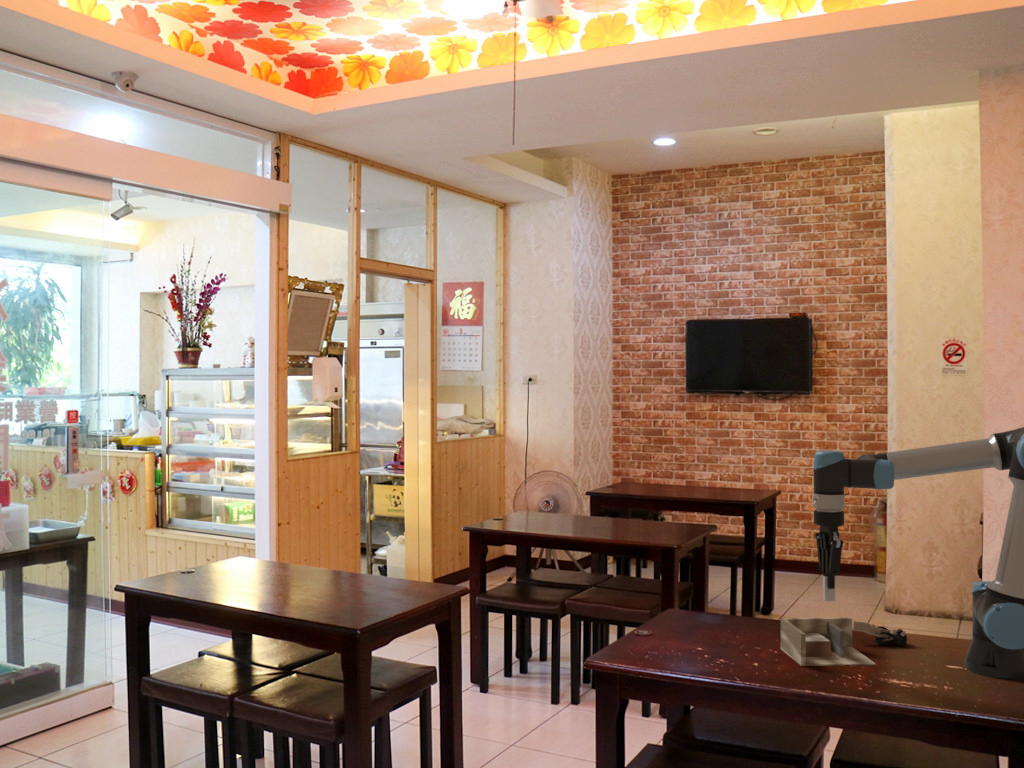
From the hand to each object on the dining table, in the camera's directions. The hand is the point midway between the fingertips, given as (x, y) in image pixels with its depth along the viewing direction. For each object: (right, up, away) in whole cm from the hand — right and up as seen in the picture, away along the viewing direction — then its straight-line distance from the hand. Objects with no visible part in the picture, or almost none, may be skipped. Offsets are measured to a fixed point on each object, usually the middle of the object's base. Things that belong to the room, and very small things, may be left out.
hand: (829, 600), depth 235 cm
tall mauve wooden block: (0, -15, +8) cm, 18 cm away
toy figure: (+15, -15, +26) cm, 33 cm away
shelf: (+3, -18, +10) cm, 21 cm away
